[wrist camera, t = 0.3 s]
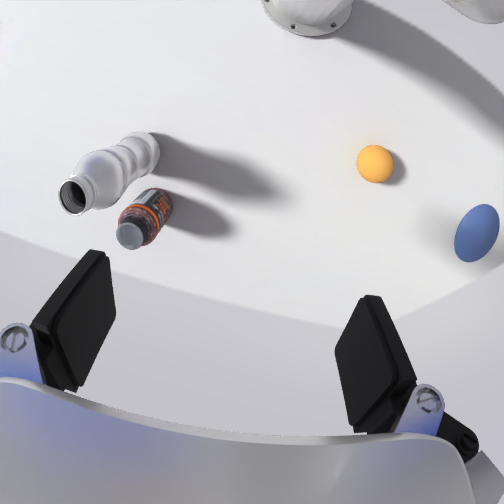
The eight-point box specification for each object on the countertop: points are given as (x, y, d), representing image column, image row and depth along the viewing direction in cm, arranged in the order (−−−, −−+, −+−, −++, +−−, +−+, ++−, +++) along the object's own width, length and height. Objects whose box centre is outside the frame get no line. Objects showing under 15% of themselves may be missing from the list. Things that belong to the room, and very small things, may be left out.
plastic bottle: (158, 124, 39) (87, 154, 21) (168, 166, 42) (110, 223, 25) (120, 135, 39) (39, 174, 22) (132, 175, 43) (62, 234, 25)
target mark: (476, 193, 42) (477, 193, 41) (506, 220, 44) (507, 220, 43) (444, 249, 48) (444, 250, 48) (477, 268, 50) (477, 269, 50)
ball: (361, 135, 39) (374, 142, 34) (390, 152, 40) (406, 160, 35) (346, 167, 41) (356, 178, 37) (375, 182, 42) (388, 194, 37)
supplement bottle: (179, 215, 46) (158, 251, 36) (148, 225, 47) (122, 262, 37) (164, 181, 43) (138, 210, 33) (133, 193, 44) (101, 224, 35)
